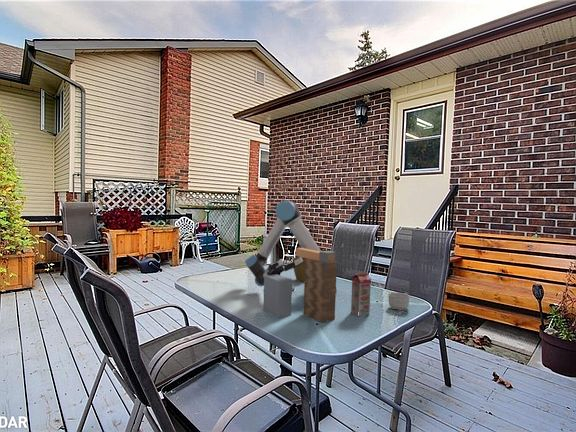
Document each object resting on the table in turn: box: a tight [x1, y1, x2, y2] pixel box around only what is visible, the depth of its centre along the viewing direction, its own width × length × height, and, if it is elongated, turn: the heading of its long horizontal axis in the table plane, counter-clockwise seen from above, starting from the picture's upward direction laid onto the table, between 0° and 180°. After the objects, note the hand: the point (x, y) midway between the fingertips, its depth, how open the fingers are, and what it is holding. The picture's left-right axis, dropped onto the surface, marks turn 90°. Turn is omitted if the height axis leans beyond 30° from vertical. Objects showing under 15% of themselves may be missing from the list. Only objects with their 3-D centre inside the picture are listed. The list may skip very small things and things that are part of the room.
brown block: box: [295, 247, 337, 264], centre depth 166 cm, size 24×6×5 cm, turn 38°
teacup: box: [387, 291, 410, 311], centre depth 181 cm, size 14×11×8 cm
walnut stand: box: [302, 259, 338, 324], centre depth 163 cm, size 14×8×28 cm, turn 38°
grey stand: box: [262, 274, 293, 319], centre depth 167 cm, size 13×8×18 cm, turn 38°
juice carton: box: [350, 270, 372, 317], centre depth 169 cm, size 7×7×22 cm
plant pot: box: [292, 256, 307, 283], centre depth 238 cm, size 15×15×16 cm
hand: (292, 260), depth 180 cm, fingers open, 13 cm apart
